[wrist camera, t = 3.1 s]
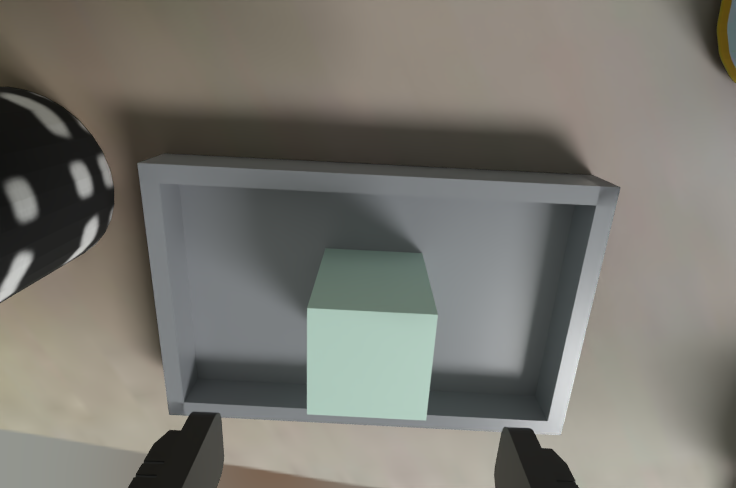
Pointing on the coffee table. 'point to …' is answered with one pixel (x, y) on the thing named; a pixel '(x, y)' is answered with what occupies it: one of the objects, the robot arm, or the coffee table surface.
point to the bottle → (727, 36)
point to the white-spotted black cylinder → (47, 189)
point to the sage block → (370, 335)
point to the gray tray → (375, 233)
